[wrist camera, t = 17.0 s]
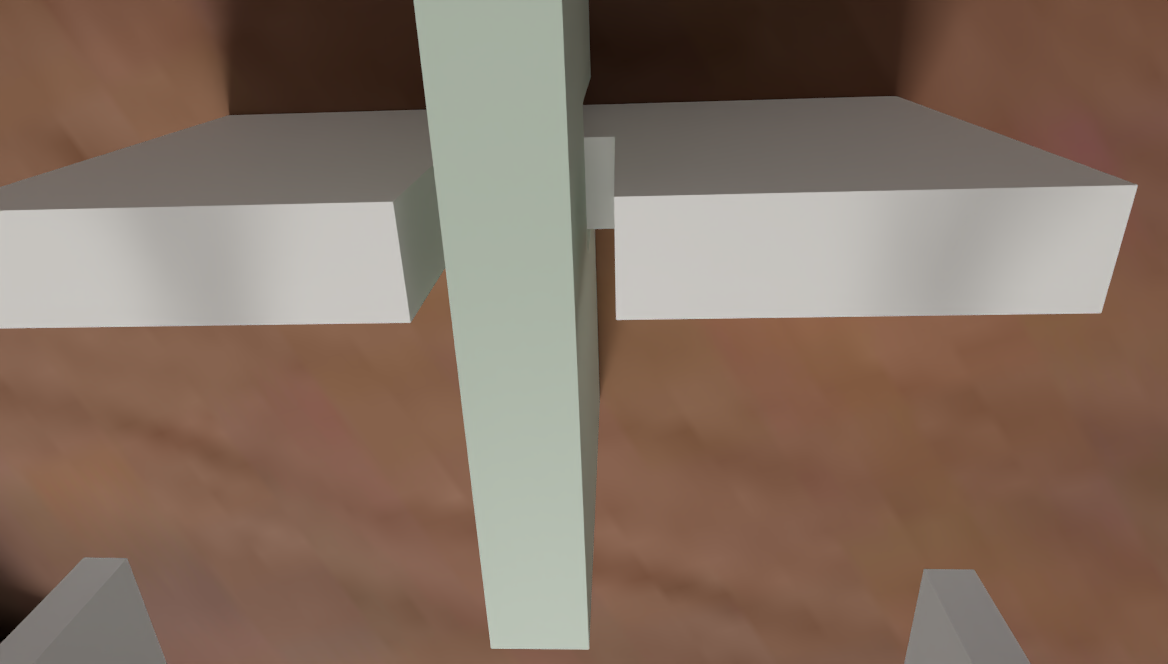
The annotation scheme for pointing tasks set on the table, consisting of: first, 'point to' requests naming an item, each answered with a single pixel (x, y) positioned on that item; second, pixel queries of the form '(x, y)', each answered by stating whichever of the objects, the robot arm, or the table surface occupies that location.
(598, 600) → the table surface
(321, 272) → the white board
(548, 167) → the green board
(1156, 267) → the table surface
